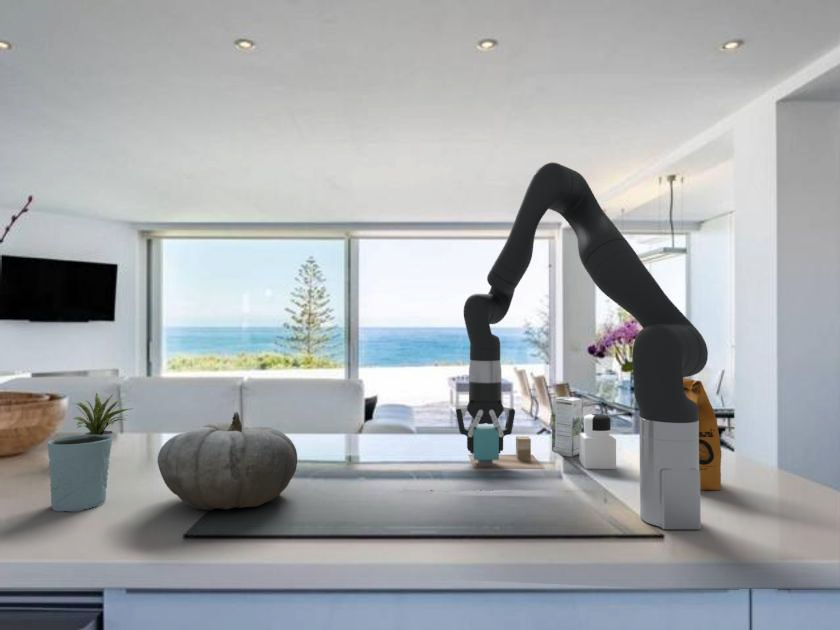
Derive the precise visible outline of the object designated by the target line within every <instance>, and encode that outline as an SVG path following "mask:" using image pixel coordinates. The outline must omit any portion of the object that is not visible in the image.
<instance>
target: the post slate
mask: <svg viewBox="0 0 840 630" xmlns="http://www.w3.org/2000/svg"><path fill="white" fill-rule="evenodd" d="M478 464H479V466H492V460H478Z"/></svg>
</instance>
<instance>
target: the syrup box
mask: <svg viewBox="0 0 840 630" xmlns="http://www.w3.org/2000/svg"><path fill="white" fill-rule="evenodd" d="M551 409H552V412H551V414H552V417H551V419H552V420H551V421H552V423H551V451H552V452H556V453H558V454H559V455H560V456H561V457H567V458H573V457H576V456H579V434H580V433H583V431H582V425H583V424H582V423H583V422H582V421H583V419H582V416H583V415H582V414H583V413H582V412H583V410H582V409H583V400H582V398H578V397H574V396H561V397H555V398H553V399H552V408H551Z"/></svg>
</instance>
